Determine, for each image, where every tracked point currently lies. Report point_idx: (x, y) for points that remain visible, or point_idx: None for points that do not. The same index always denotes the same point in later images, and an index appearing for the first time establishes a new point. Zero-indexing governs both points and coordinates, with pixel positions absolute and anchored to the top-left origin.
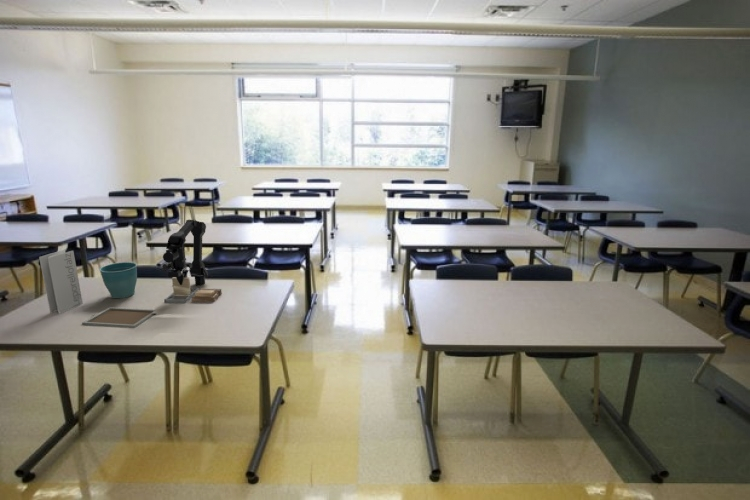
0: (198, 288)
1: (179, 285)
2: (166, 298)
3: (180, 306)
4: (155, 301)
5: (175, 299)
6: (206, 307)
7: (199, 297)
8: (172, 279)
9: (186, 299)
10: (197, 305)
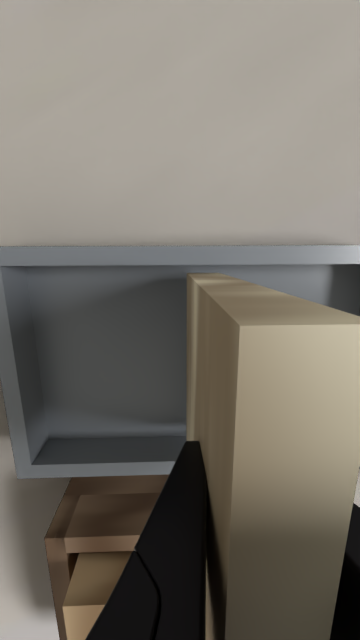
0: None
1: (198, 412)
2: (15, 258)
3: (5, 409)
4: (92, 87)
5: (5, 378)
6: (23, 586)
7: (54, 597)
8: (222, 326)
9: (39, 475)
10: (49, 520)
